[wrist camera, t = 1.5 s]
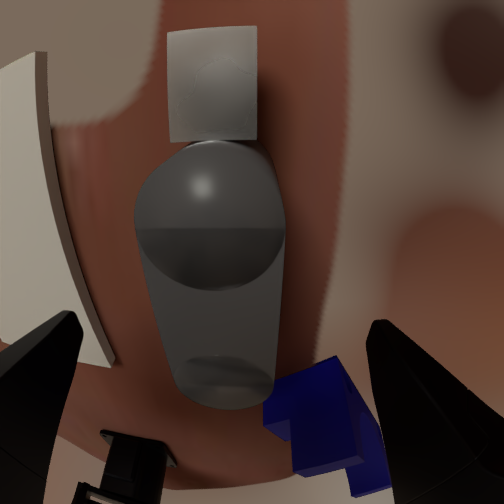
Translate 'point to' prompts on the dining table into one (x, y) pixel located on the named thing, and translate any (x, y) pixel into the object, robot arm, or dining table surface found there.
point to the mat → (37, 219)
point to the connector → (215, 225)
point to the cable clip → (328, 426)
